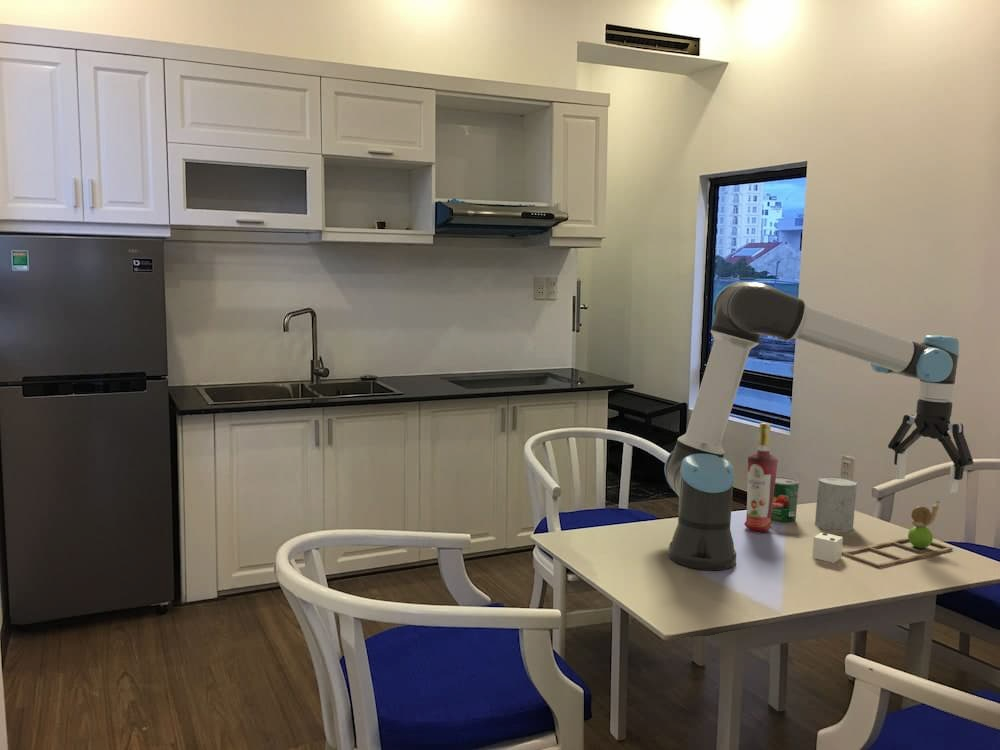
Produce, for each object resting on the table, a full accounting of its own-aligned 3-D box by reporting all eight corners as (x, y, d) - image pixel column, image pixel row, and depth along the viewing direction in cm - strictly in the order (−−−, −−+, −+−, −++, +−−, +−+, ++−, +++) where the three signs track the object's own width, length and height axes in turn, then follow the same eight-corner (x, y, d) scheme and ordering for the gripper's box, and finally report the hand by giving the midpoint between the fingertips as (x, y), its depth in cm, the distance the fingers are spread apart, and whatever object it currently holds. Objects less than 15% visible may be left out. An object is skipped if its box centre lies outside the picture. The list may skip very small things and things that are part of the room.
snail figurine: (940, 551, 196) (944, 503, 195) (913, 550, 196) (918, 502, 195) (928, 544, 202) (933, 497, 200) (903, 543, 202) (907, 496, 200)
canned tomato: (763, 521, 217) (766, 481, 216) (767, 514, 224) (769, 475, 223) (794, 526, 214) (797, 485, 212) (797, 518, 221) (800, 479, 219)
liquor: (777, 530, 209) (785, 424, 206) (764, 536, 204) (772, 427, 200) (751, 524, 214) (758, 420, 211) (737, 529, 209) (745, 423, 205)
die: (834, 563, 186) (836, 541, 185) (812, 557, 189) (814, 536, 189) (841, 557, 190) (843, 536, 189) (819, 552, 193) (821, 531, 192)
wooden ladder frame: (878, 568, 183) (878, 565, 183) (840, 554, 192) (841, 552, 192) (952, 550, 197) (952, 548, 197) (914, 538, 206) (914, 536, 206)
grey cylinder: (853, 524, 217) (857, 479, 216) (853, 533, 208) (857, 487, 207) (815, 518, 221) (819, 474, 219) (813, 528, 212) (817, 482, 211)
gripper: (996, 407, 186) (985, 497, 189) (897, 391, 207) (888, 472, 210) (978, 408, 182) (967, 500, 185) (878, 392, 204) (870, 474, 206)
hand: (925, 485), depth 197 cm, fingers open, 13 cm apart
